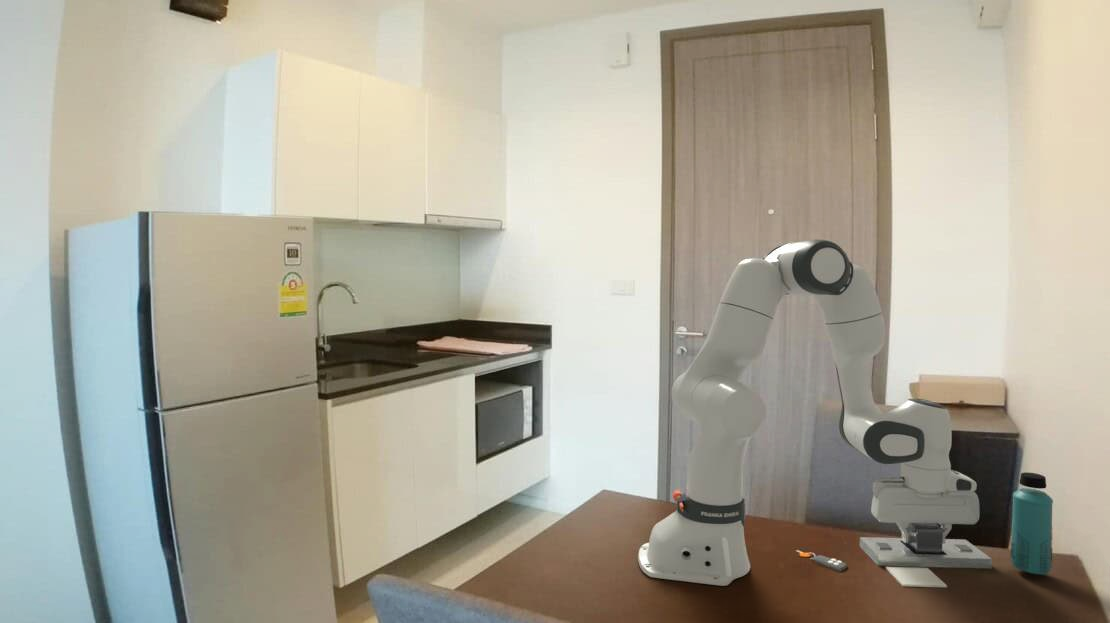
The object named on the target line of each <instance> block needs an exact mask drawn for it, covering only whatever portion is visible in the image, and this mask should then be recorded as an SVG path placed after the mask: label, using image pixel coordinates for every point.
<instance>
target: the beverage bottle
mask: <svg viewBox="0 0 1110 623" xmlns="http://www.w3.org/2000/svg"><path fill="white" fill-rule="evenodd" d="M1019 484H1020V485H1021V486H1024V487H1025V488H1023V487H1022V488H1020V489H1017V490H1016V491H1014V492H1013V493H1012V514H1011V520H1012V521H1011V531H1010V537H1011V541H1010V556H1009V557H1010V561H1011V564H1012V566H1014V567H1015V568H1016V569H1019V570H1020V571H1022V572H1027V573H1029V574H1035V575H1046V574H1047V575H1048V574H1049V573H1050V572H1051V570H1052V568H1053V566H1052V563H1053V536H1054V535H1053V533H1054V532H1053V529H1054V528H1053V504H1054V500H1053V498H1052V497H1051V496H1050V495H1049V494H1048V493H1046V492H1045V491H1042V490H1043V489H1047V479H1046V476H1044V475H1042V474H1039V473H1036V472H1035V473H1034V472H1029V471H1028V472H1021V473H1020V478H1019ZM1027 487H1028V488H1027ZM1038 489H1039V490H1038ZM1041 489H1042V490H1041Z"/></svg>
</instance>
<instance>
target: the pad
mask: <svg viewBox="0 0 1110 623" xmlns="http://www.w3.org/2000/svg"><path fill="white" fill-rule="evenodd" d="M885 570H887V571H888V573H889V574H891V576H892V577H893V578H894V579H895V580H896V581H897V582H898V583H899V584H900V585H901V586H902V587H912V588H913V587H914V588H915V587H916V588H917V587H918V588H919V587H920V588H922V587H923V588H945V589H946V588H948V585H947V584H946V583H945V582H943V580H941V578H939V577H938V576H937V575H936V574H935V573H934V572H933V571H932V570H931V569H929V567H913V566H885Z"/></svg>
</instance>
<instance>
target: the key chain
mask: <svg viewBox="0 0 1110 623" xmlns="http://www.w3.org/2000/svg"><path fill="white" fill-rule="evenodd" d="M796 552H797V553H799V556H800V557H802V558H809V559H810V560H812V561H813V562H814V563H816V564H818V565H821V566H823V567H826V568H828V569H831V570H834V571H836V572H842V571H844V570H846V569H847V567H848V565H847V563H845V562H843V561H841V560H837V559H836V558H832V557H827V556H826V555H825V556H824V555H822V554H818V555H816V554H815V553H814V552H810V551H809V552H803V551H801V550H796ZM812 555H813V557H812ZM810 557H811V558H810Z"/></svg>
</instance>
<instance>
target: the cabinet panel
mask: <svg viewBox="0 0 1110 623" xmlns="http://www.w3.org/2000/svg"><path fill="white" fill-rule="evenodd" d="M859 547H860V549H861V550H863V552H864V553H865V554H866V555H867V556H868V557H869V558H870V559H871V560H872V561H873V563H875V564H876V565H877V566H879V567H882V566H884V567H912V568H951V569H952V568H955V569H956V568H959V569H961V568H962V569H992V561H993V559H992V557H990V556H988V555H987V554H986V553H984V552H983V551H982V550H981V549H979V548H977V547H976V545H973V543H971V542H969V540H967V539H962V538H961V539H959V538H957V539H955V538H952V539H951V538H945V544H942V555H927V554H914V553H913V552H912V551H911V550H909V549H908V548H907V547H906V546H905V543H904V542H903V541H902V537H870V536H869V537H868V536H866V537H862V536H860V537H859Z"/></svg>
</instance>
